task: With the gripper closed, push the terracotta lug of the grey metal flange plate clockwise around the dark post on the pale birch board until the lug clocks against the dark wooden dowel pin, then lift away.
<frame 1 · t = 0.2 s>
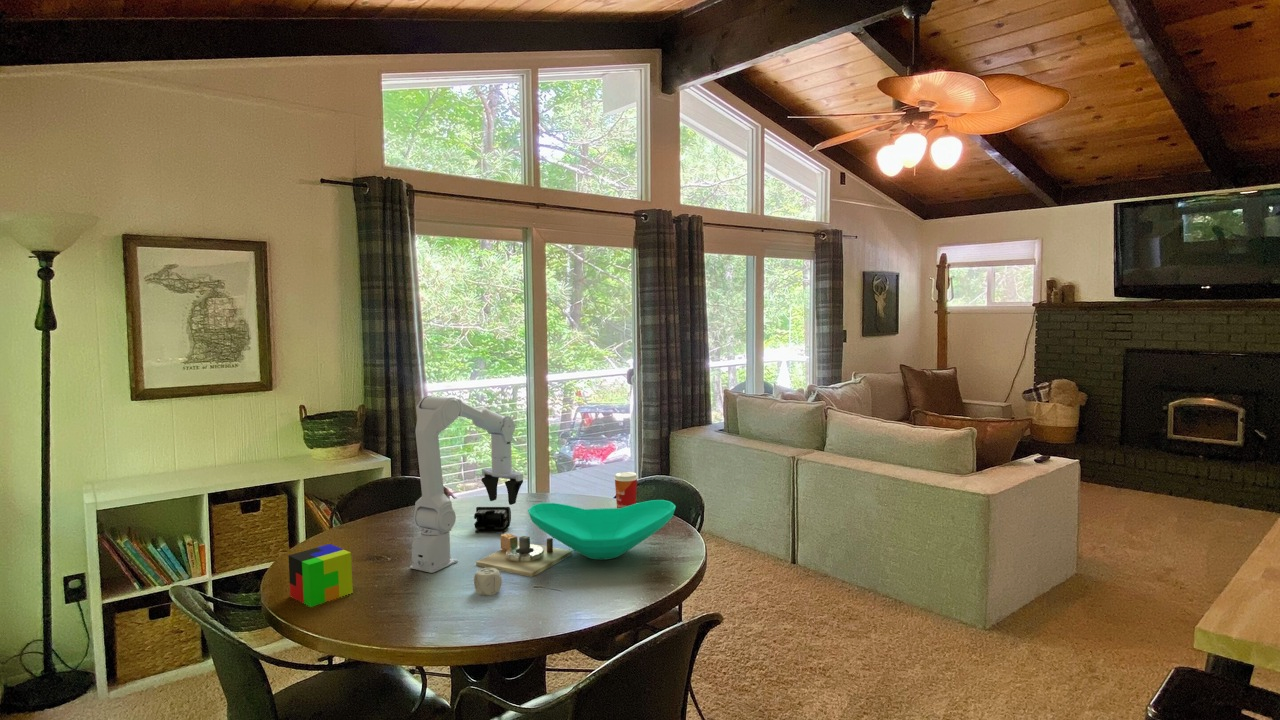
hand: (502, 502, 208), 10 cm above the table, fingers open, 7 cm apart
flange: (519, 546, 189), point 3 cm above the table, hinge at 0.0°
puzzle toy: (321, 596, 166), on the table
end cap: (492, 530, 215), on the table
board: (525, 559, 188), on the table
dowel: (550, 555, 191), resting on board
paper cup: (626, 518, 225), on the table
table top decor: (603, 556, 191), on the table
die: (488, 592, 167), on the table
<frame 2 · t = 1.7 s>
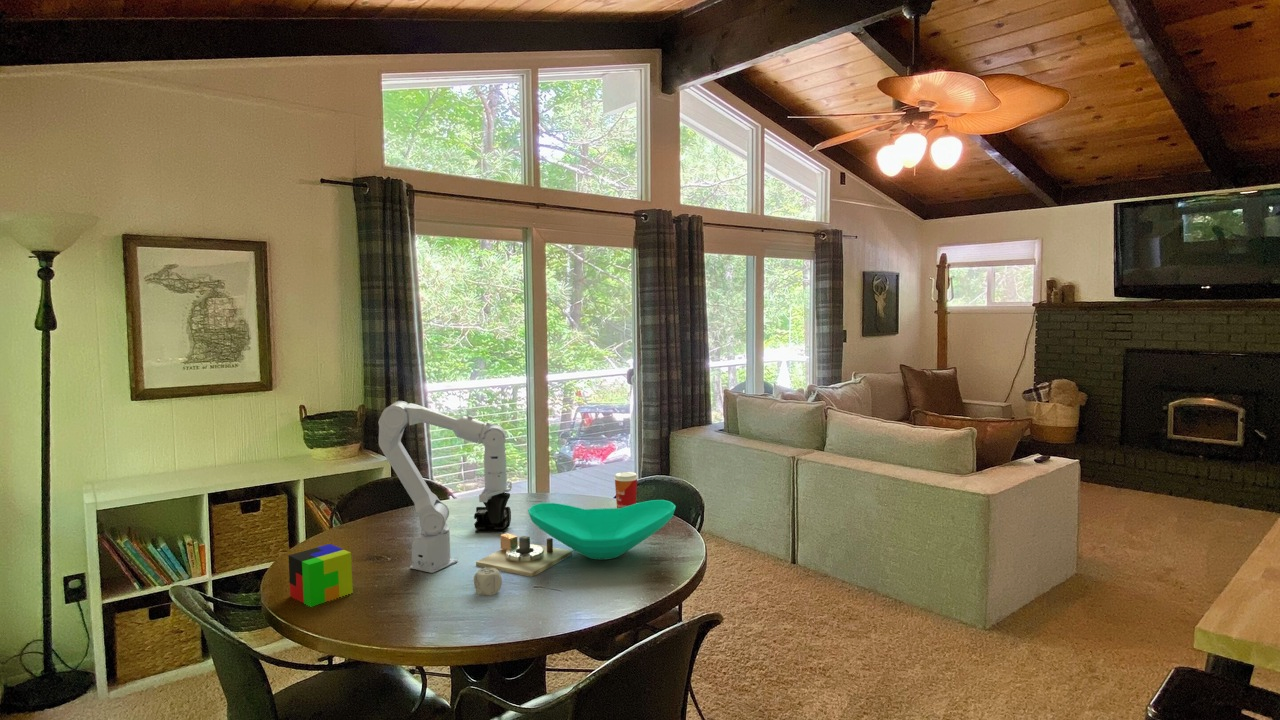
hand: (496, 522, 187), 10 cm above the table, fingers closed
nothing on the table moved.
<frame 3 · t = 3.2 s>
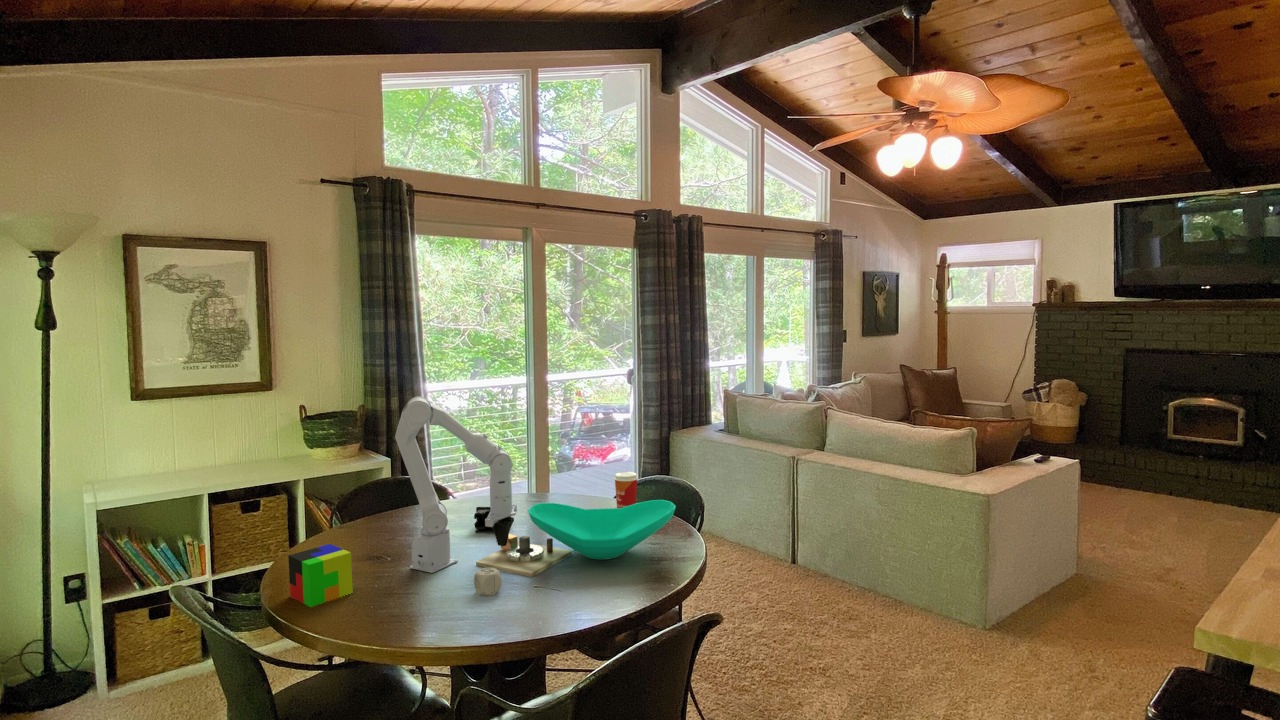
hand: (502, 545, 190), 3 cm above the table, fingers closed, pressing on flange
flange: (519, 546, 189), point 3 cm above the table, hinge at 0.0°, touching gripper
everything else where it was.
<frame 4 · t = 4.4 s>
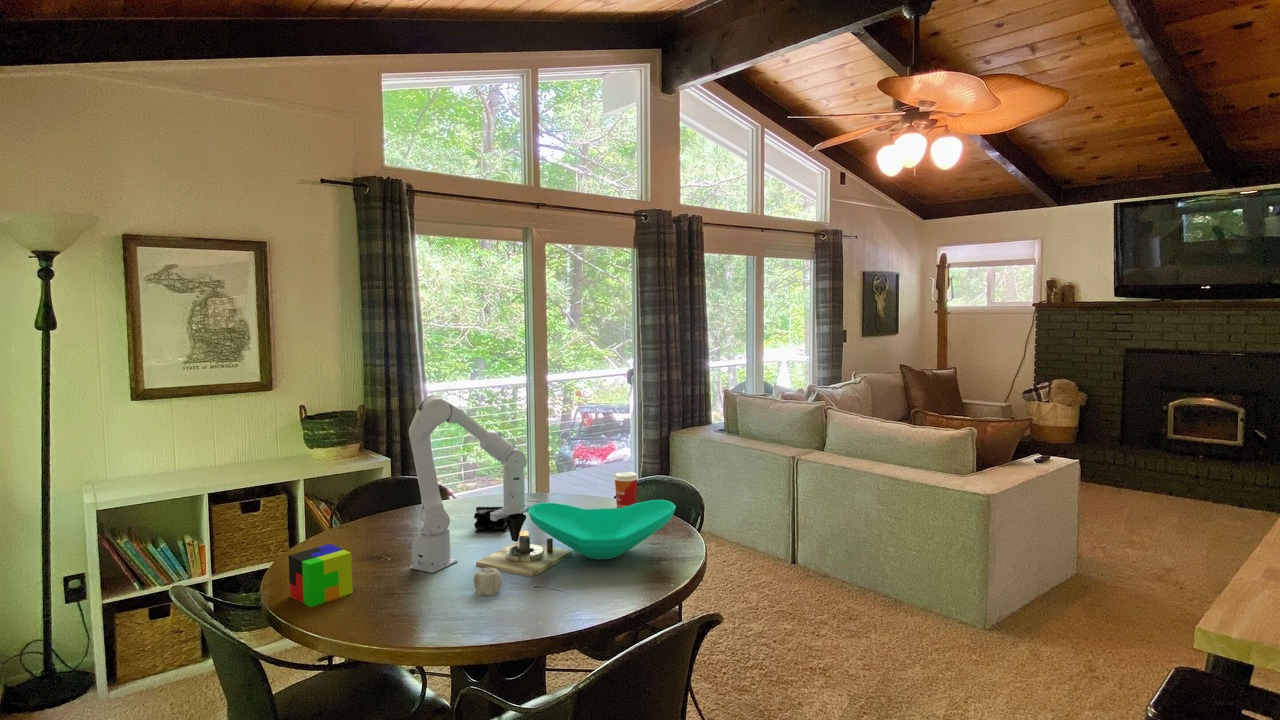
hand: (515, 540, 194), 3 cm above the table, fingers closed
flange: (524, 545, 190), point 3 cm above the table, hinge at -36.6°, touching gripper
everything else where it was.
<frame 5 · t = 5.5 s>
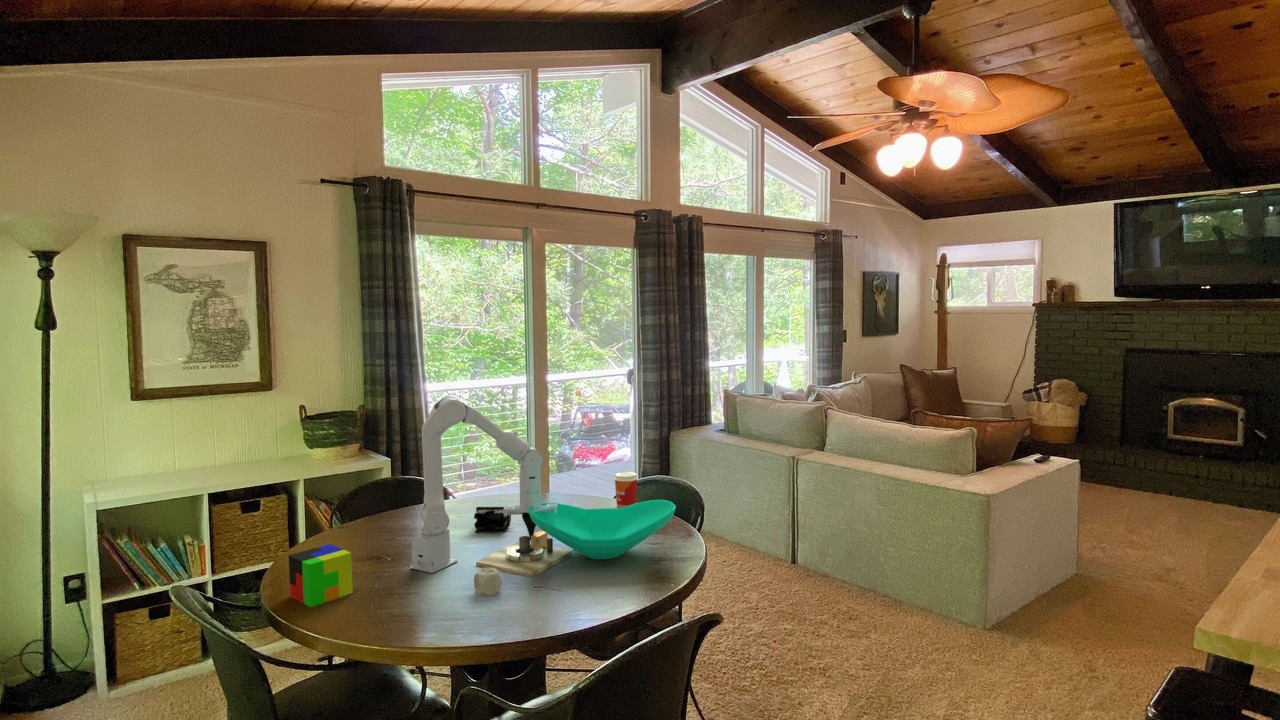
hand: (531, 539, 195), 3 cm above the table, fingers closed
flange: (529, 545, 190), point 3 cm above the table, hinge at -72.9°, touching gripper
table top decor: (603, 556, 191), on the table, touching gripper
everything else where it was.
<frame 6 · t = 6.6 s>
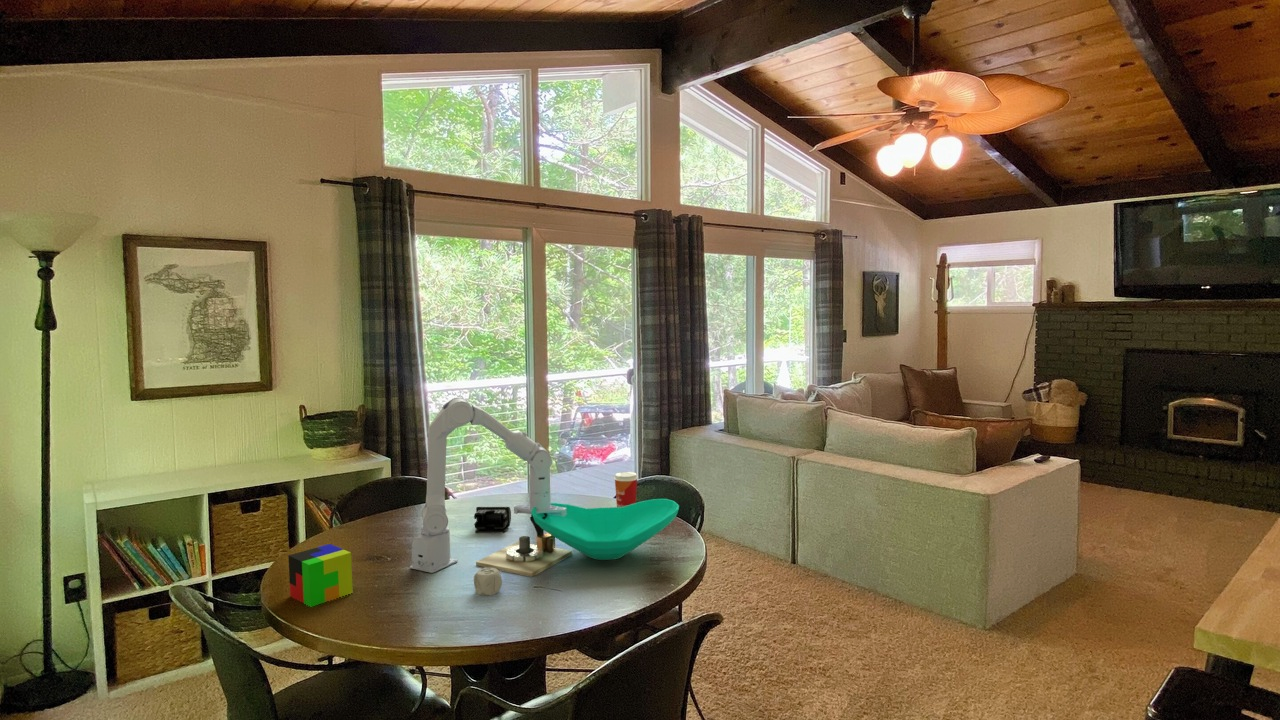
hand: (540, 540, 194), 3 cm above the table, fingers closed, pressing on flange
flange: (531, 546, 189), point 3 cm above the table, hinge at -93.5°, touching dowel, gripper
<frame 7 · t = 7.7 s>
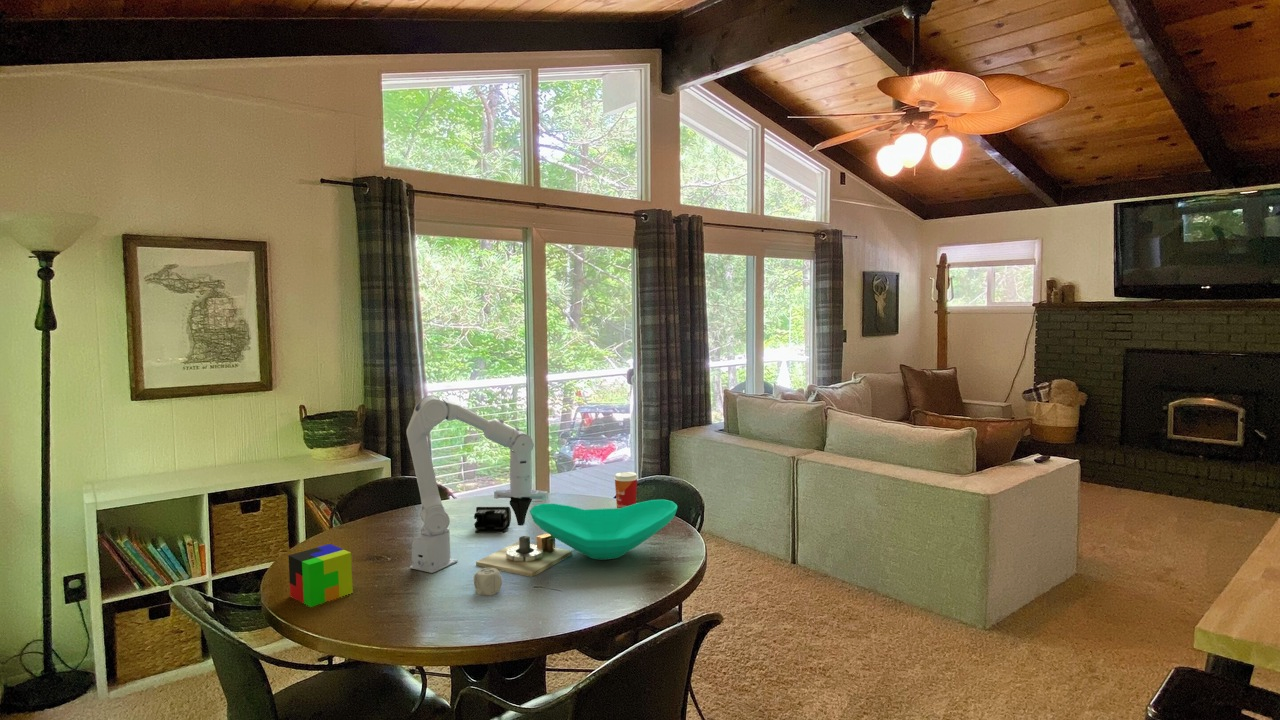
hand: (521, 524, 194), 8 cm above the table, fingers closed
flange: (531, 546, 189), point 3 cm above the table, hinge at -93.4°
table top decor: (604, 556, 191), on the table
everything else where it was.
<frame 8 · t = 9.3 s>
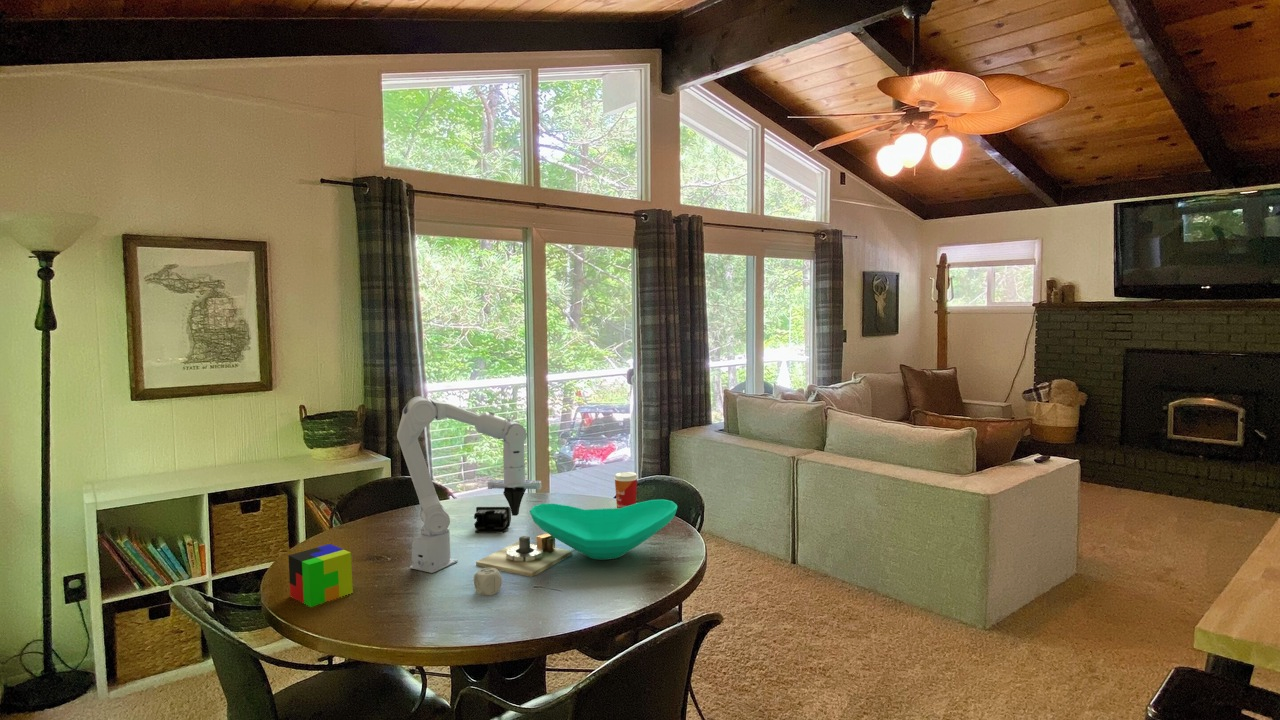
hand: (515, 514, 194), 10 cm above the table, fingers closed
nothing on the table moved.
at the end: flange at -93° (first picture: +0°); the gripper is holding nothing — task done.
